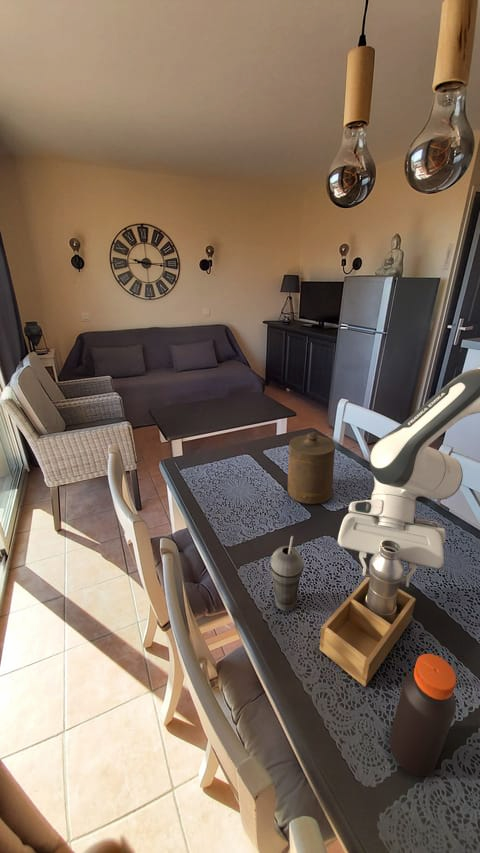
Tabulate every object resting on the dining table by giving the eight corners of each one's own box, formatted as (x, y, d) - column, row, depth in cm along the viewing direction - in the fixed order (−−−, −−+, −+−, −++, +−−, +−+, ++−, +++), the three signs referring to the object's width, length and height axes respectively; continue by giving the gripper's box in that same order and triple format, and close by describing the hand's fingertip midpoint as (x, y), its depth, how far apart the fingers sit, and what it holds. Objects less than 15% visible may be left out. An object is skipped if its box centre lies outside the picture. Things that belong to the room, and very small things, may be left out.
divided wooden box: (410, 620, 78) (416, 598, 75) (365, 687, 66) (369, 664, 63) (367, 593, 85) (371, 572, 82) (319, 649, 73) (321, 626, 70)
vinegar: (389, 766, 56) (410, 686, 47) (389, 719, 61) (408, 640, 53) (438, 786, 53) (469, 706, 45) (433, 735, 59) (460, 655, 51)
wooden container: (317, 476, 132) (321, 421, 123) (340, 498, 119) (346, 439, 110) (280, 484, 128) (281, 428, 119) (299, 508, 115) (302, 447, 106)
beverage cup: (283, 584, 88) (285, 518, 80) (307, 602, 83) (312, 533, 75) (263, 602, 83) (262, 534, 75) (288, 622, 78) (290, 551, 70)
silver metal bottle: (385, 638, 74) (399, 564, 66) (356, 616, 78) (365, 545, 70) (400, 618, 78) (415, 547, 69) (371, 599, 82) (382, 529, 74)
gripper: (442, 525, 76) (438, 595, 72) (343, 506, 83) (334, 568, 79) (450, 521, 71) (446, 596, 66) (342, 501, 78) (333, 568, 73)
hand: (384, 581), depth 73 cm, fingers closed on silver metal bottle, 6 cm apart
